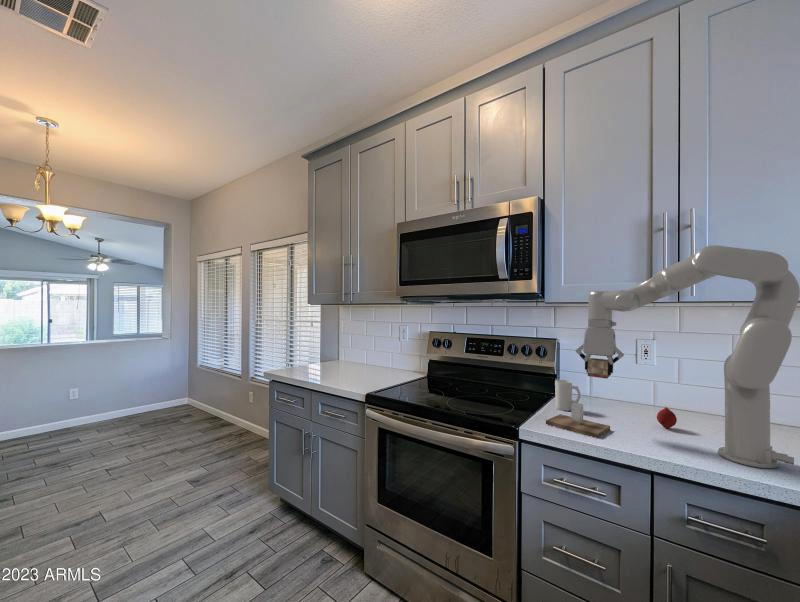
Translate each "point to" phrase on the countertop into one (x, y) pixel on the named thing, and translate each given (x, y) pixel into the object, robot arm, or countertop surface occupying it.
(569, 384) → the mug
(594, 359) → the sleeve
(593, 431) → the pin board
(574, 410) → the steel pin
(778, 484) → the countertop surface
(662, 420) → the onion
